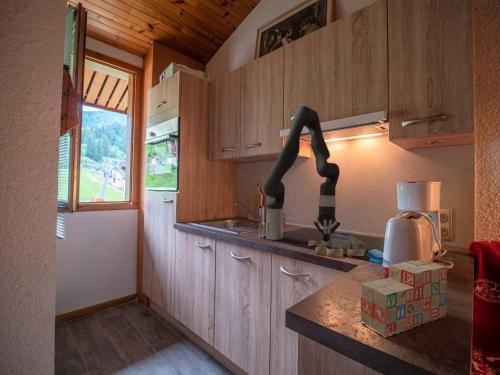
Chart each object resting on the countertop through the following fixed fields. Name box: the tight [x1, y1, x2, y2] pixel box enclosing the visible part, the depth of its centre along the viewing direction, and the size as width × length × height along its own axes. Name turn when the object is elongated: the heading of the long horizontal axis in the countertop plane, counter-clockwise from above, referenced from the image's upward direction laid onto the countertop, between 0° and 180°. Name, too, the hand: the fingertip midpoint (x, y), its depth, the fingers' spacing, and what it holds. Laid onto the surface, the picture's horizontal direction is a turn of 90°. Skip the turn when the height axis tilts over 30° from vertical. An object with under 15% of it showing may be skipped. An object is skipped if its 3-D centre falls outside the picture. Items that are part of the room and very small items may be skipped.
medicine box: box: [331, 230, 352, 249], centre depth 116 cm, size 8×4×9 cm, turn 58°
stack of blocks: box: [360, 259, 448, 335], centre depth 57 cm, size 21×6×12 cm, turn 114°
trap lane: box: [307, 236, 366, 258], centre depth 114 cm, size 22×17×5 cm
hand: (325, 241), depth 116 cm, fingers closed
